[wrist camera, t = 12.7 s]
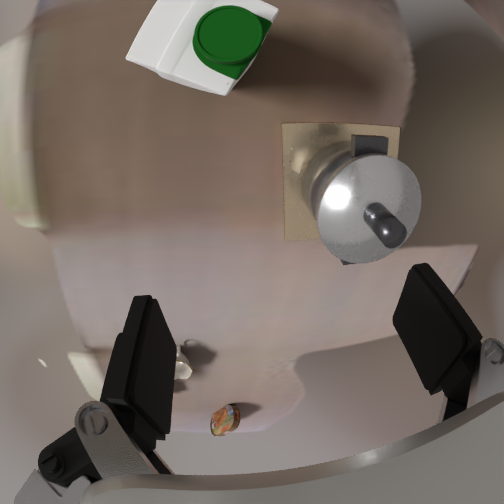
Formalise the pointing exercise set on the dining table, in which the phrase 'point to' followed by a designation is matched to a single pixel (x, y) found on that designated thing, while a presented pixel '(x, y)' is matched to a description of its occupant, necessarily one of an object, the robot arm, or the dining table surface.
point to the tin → (225, 420)
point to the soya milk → (203, 41)
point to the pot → (322, 165)
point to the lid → (368, 208)
